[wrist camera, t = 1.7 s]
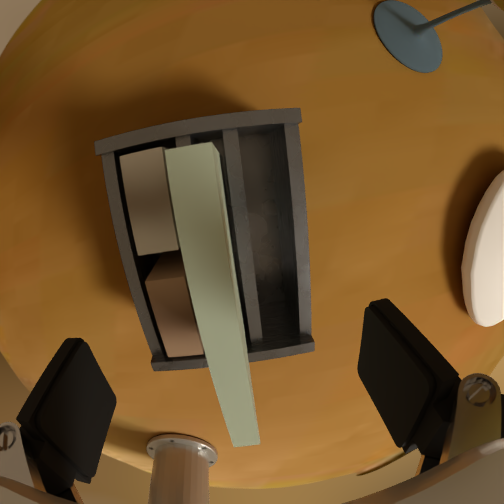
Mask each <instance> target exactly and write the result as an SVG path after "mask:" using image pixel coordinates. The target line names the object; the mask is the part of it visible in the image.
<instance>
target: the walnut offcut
mask: <svg viewBox="0 0 504 504" xmlns="http://www.w3.org/2000/svg"><path fill="white" fill-rule="evenodd" d="M145 284H146V288H147V291H148V295H149V299H150V302H151V305H152V309H153V312H154V315H155V318H156V322H157V325H158V328H159V331H160V334H161V337H162V340H163V343H164V346H165V349H166V352H167V355H168V357H178V356H190V355H200V354H203V352H204V347H203V343H202V340H201V336H200V332H199V328H198V324H197V320H196V316H195V312H194V307H193V303H192V299H191V294H190V290H189V286H188V281H187V276H186V272H185V267H184V262H183V257H182V252H181V247H180V248H179V250H173V251H166V252H163V253H162V254H161V256H160V257H159V259H158V261H157V262H156V264H155V266H154V267H153V269H152V271H151V272H150V274H149V275H148V277H147V279H146V281H145Z"/></svg>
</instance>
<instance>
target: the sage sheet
mask: <svg viewBox="0 0 504 504" xmlns="http://www.w3.org/2000/svg"><path fill="white" fill-rule="evenodd" d="M165 157H166V164H167V171H168V178H169V184H170V191H171V197H172V203H173V209H174V215H175V221H176V226H177V232H178V237H179V242H180V247H181V252H182V257H183V262H184V267H185V272H186V276H187V281H188V286H189V290H190V294H191V299H192V303H193V307H194V312H195V316H196V320H197V324H198V328H199V332H200V336H201V340H202V343H203V347H204V351H205V355H206V358H207V362H208V366H209V369H210V373H211V376H212V380H213V383H214V387H215V390H216V393H217V397H218V400H219V403H220V406H221V410H222V413H223V416H224V419H225V422H226V425H227V428H228V431H229V434H230V437H231V440H232V443H233V446H234V447H241V446H250V445H257V444H260V437H259V431H258V424H257V417H256V410H255V404H254V397H253V390H252V382H251V375H250V368H249V361H248V353H247V346H246V339H245V331H244V323H243V316H242V308H241V300H240V292H239V286H238V279H237V272H236V265H235V258H234V251H233V244H232V237H231V230H230V223H229V216H228V208H227V201H226V194H225V186H224V178H223V171H222V163H221V155H220V154H219V152H218V151H217V149H216V148H215V146H214V145H213V143H212V142H208V143H202V144H195V145H189V146H184V147H178V148H173V149H167V150H165Z"/></svg>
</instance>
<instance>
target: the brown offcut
mask: <svg viewBox="0 0 504 504" xmlns="http://www.w3.org/2000/svg"><path fill="white" fill-rule="evenodd" d="M167 149H170V148H165V147H158V148H153V149H149V150H144V151H140V152H135V153H131V154H127V155H123V156H120V163H121V170H122V177H123V183H124V189H125V195H126V201H127V206H128V211H129V216H130V221H131V226H132V231H133V235H134V240H135V244H136V249H137V253H138V256H139V255H146V254H153V253H159V252H166V251H173V250H179V248H180V242H179V237H178V232H177V226H176V221H175V215H174V209H173V203H172V197H171V191H170V184H169V178H168V171H167V164H166V157H165V150H167Z"/></svg>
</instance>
